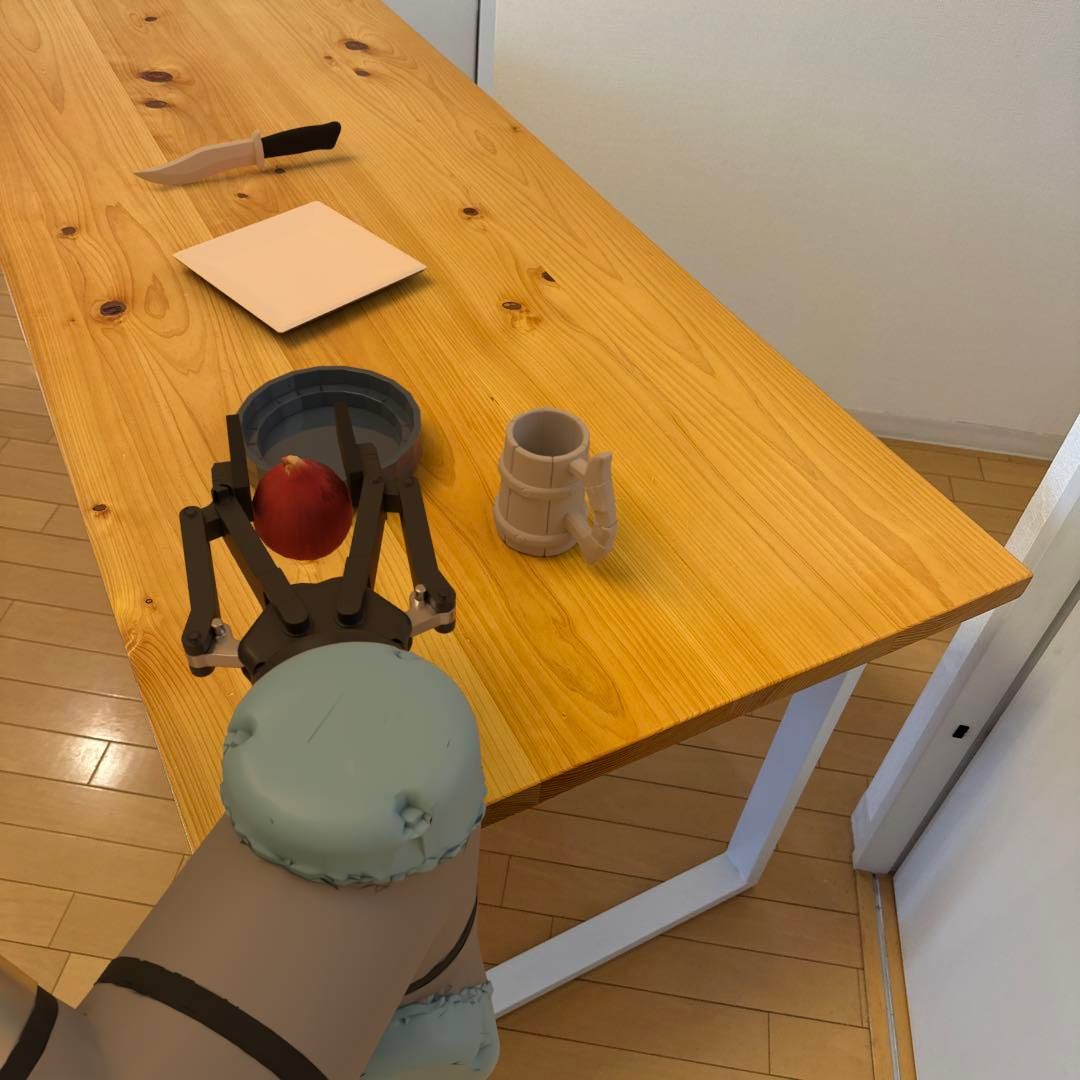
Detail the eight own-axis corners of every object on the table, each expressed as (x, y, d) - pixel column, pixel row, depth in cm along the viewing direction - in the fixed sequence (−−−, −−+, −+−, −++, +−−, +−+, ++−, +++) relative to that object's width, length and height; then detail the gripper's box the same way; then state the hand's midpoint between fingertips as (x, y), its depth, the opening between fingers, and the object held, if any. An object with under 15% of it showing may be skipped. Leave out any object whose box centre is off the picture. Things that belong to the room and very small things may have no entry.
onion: (326, 509, 65) (314, 411, 59) (374, 562, 62) (367, 464, 56) (243, 546, 62) (223, 447, 56) (290, 603, 59) (273, 505, 54)
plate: (282, 349, 97) (279, 331, 95) (174, 270, 105) (170, 252, 104) (428, 282, 107) (427, 265, 105) (319, 215, 115) (317, 198, 114)
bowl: (233, 521, 80) (225, 484, 77) (249, 403, 91) (243, 366, 88) (424, 515, 82) (423, 478, 79) (419, 400, 93) (418, 364, 90)
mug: (544, 481, 86) (555, 366, 77) (640, 562, 80) (663, 447, 71) (473, 518, 82) (476, 401, 74) (568, 606, 76) (583, 490, 68)
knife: (139, 195, 116) (129, 153, 112) (135, 188, 117) (125, 146, 113) (345, 161, 125) (342, 121, 121) (340, 155, 126) (337, 115, 122)
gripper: (147, 827, 46) (141, 492, 62) (535, 746, 51) (439, 452, 66) (108, 736, 41) (112, 394, 56) (545, 655, 45) (439, 358, 61)
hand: (289, 426), depth 61 cm, fingers closed on onion, 6 cm apart
